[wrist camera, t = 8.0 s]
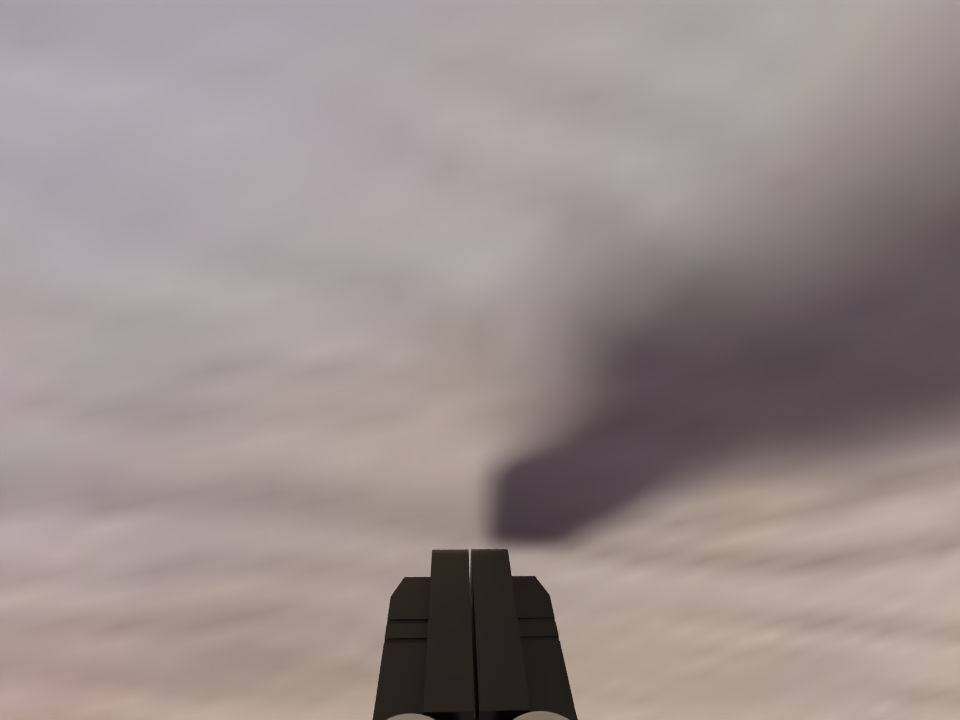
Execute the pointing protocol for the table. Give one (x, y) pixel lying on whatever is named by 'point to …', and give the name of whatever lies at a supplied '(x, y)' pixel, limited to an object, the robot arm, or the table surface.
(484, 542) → the table surface
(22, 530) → the table surface
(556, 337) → the table surface
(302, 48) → the table surface
